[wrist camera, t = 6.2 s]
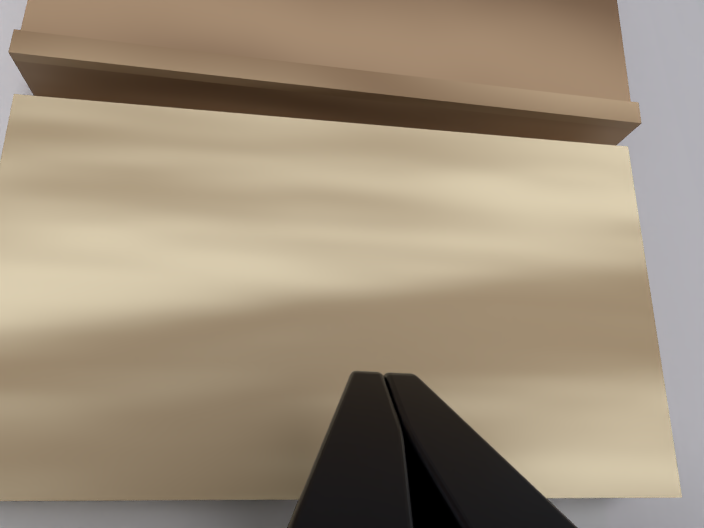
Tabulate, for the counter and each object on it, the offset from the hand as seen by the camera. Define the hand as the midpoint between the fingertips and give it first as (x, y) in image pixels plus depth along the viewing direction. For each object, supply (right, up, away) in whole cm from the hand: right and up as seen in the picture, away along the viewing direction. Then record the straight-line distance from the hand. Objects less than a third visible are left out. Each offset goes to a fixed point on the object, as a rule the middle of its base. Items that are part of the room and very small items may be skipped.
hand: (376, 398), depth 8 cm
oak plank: (-1, -3, +5) cm, 6 cm away
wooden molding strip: (-1, +9, +10) cm, 14 cm away
